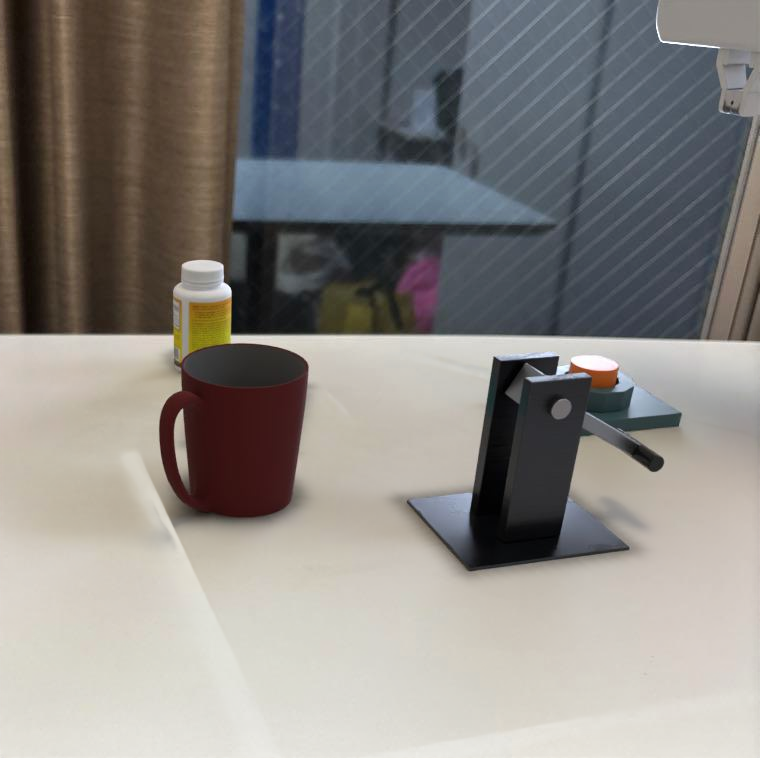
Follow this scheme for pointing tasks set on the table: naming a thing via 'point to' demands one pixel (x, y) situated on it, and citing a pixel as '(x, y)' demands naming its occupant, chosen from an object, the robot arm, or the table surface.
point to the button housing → (627, 406)
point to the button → (596, 369)
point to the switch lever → (597, 427)
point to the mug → (237, 428)
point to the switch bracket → (523, 476)
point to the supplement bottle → (200, 309)
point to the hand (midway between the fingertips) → (739, 114)
